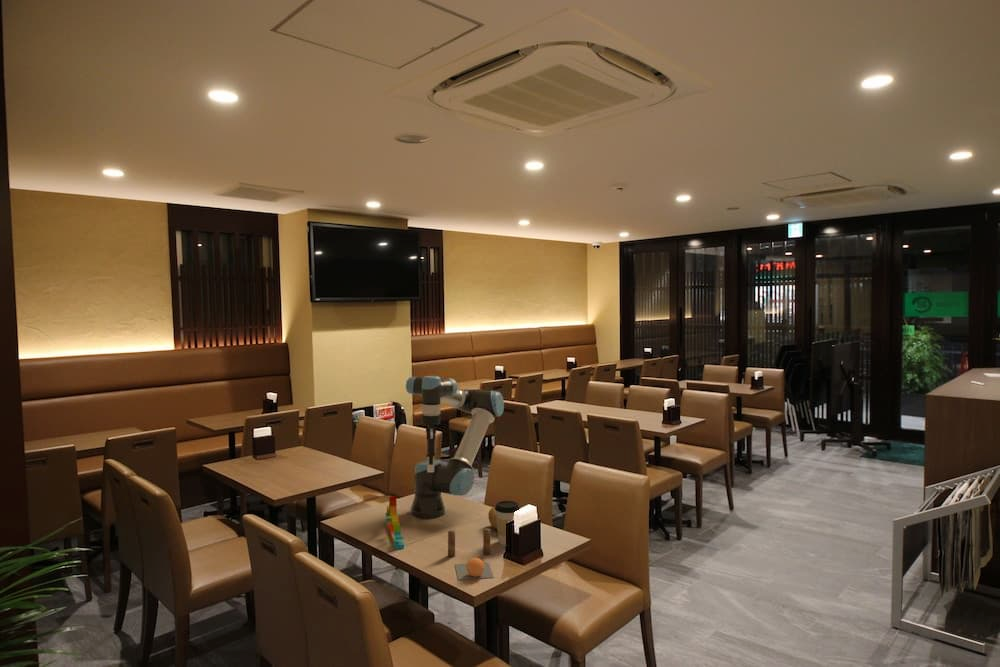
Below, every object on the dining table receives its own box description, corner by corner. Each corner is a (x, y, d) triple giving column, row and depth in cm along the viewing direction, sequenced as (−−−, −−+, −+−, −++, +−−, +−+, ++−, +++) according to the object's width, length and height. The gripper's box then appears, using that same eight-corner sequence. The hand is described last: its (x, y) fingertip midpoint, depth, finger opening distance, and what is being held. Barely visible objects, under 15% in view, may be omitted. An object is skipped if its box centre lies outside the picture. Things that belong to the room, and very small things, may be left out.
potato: (497, 536, 234) (497, 517, 234) (483, 525, 247) (483, 506, 247) (519, 533, 238) (519, 513, 238) (504, 521, 251) (504, 503, 251)
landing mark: (454, 564, 207) (454, 564, 207) (488, 562, 209) (488, 562, 209) (458, 580, 196) (458, 579, 196) (493, 577, 198) (493, 577, 198)
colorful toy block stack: (404, 549, 222) (404, 510, 221) (396, 550, 221) (396, 510, 220) (392, 522, 250) (393, 487, 250) (385, 522, 249) (385, 488, 249)
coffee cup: (522, 545, 226) (523, 506, 225) (498, 548, 223) (498, 509, 222) (515, 536, 235) (515, 499, 234) (491, 538, 232) (491, 501, 232)
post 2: (482, 552, 218) (483, 528, 218) (489, 552, 219) (489, 528, 219) (483, 555, 216) (484, 531, 216) (490, 554, 216) (490, 530, 216)
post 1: (447, 554, 216) (447, 530, 216) (454, 554, 217) (454, 530, 216) (448, 557, 214) (448, 533, 213) (455, 557, 214) (455, 532, 214)
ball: (467, 581, 196) (465, 571, 202) (485, 579, 197) (482, 570, 203) (467, 564, 195) (465, 555, 201) (485, 563, 196) (483, 554, 202)
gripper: (421, 411, 244) (420, 467, 245) (422, 417, 231) (422, 476, 232) (439, 411, 245) (438, 467, 246) (441, 416, 232) (441, 475, 233)
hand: (430, 471), depth 239 cm, fingers closed
